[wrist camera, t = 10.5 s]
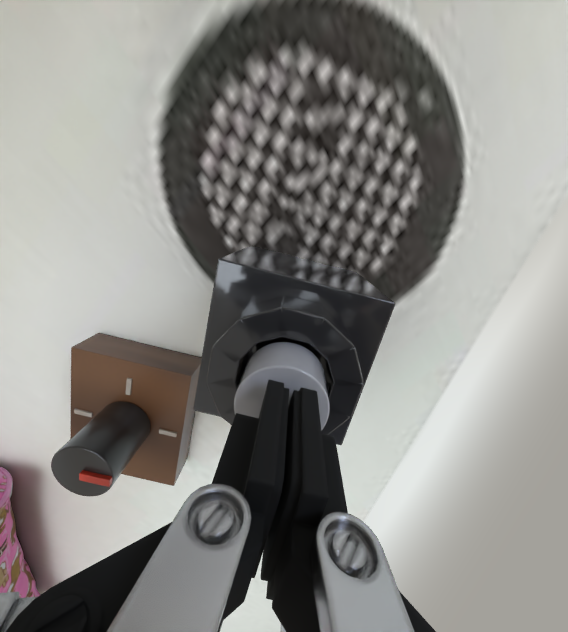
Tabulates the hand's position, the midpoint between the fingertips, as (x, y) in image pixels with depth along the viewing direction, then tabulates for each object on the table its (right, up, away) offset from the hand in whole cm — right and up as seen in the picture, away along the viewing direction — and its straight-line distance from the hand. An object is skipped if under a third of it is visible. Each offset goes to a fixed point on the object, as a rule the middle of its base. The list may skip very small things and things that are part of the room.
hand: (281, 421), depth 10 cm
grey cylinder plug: (0, +1, +2) cm, 3 cm away
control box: (-12, -4, +16) cm, 20 cm away
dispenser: (+1, +4, +12) cm, 13 cm away
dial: (-12, -5, +13) cm, 18 cm away
